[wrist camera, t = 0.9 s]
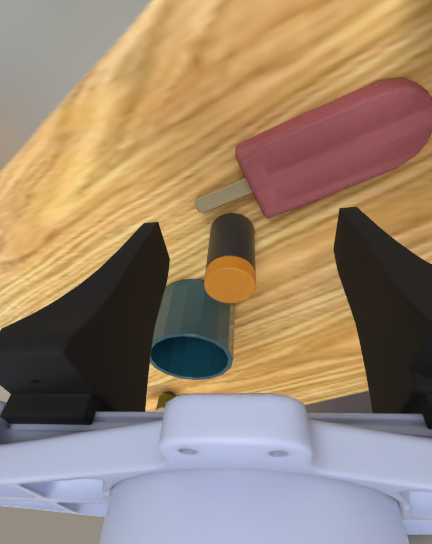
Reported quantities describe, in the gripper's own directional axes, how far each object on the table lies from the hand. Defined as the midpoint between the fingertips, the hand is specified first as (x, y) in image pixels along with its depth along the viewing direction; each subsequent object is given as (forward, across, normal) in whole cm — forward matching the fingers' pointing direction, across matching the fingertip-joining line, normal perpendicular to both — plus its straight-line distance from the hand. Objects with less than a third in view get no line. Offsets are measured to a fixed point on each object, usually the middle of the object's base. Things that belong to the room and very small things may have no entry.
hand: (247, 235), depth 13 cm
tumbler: (+10, +6, +16) cm, 20 cm away
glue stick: (+10, +2, +7) cm, 12 cm away
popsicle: (+10, -3, +2) cm, 11 cm away
